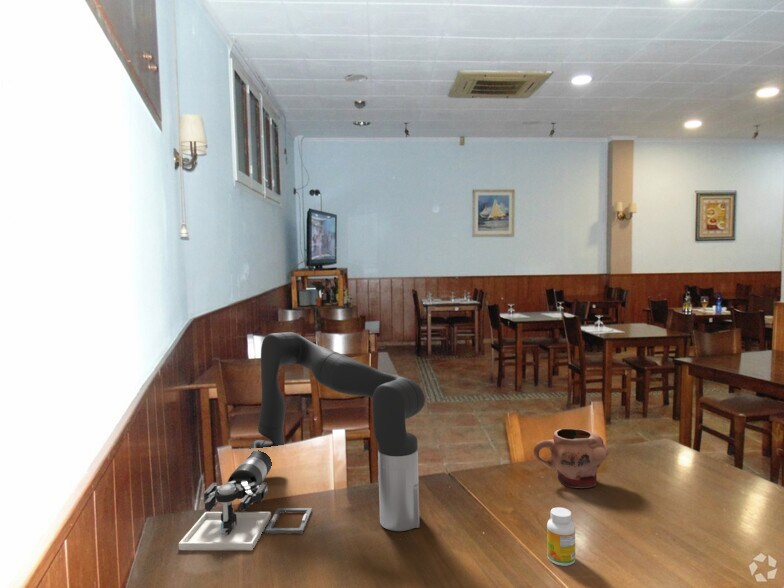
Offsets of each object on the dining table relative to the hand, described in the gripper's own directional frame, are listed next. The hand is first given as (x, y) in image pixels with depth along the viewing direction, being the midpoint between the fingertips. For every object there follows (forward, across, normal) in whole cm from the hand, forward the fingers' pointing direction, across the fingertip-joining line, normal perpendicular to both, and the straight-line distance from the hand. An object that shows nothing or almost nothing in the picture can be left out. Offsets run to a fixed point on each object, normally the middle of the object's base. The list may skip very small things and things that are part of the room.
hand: (224, 507), depth 114 cm
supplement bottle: (+9, +72, +7) cm, 73 cm away
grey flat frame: (-6, +13, +6) cm, 16 cm away
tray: (-1, 0, +6) cm, 7 cm away
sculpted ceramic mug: (-27, +85, +7) cm, 89 cm away
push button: (-1, 0, +6) cm, 7 cm away
